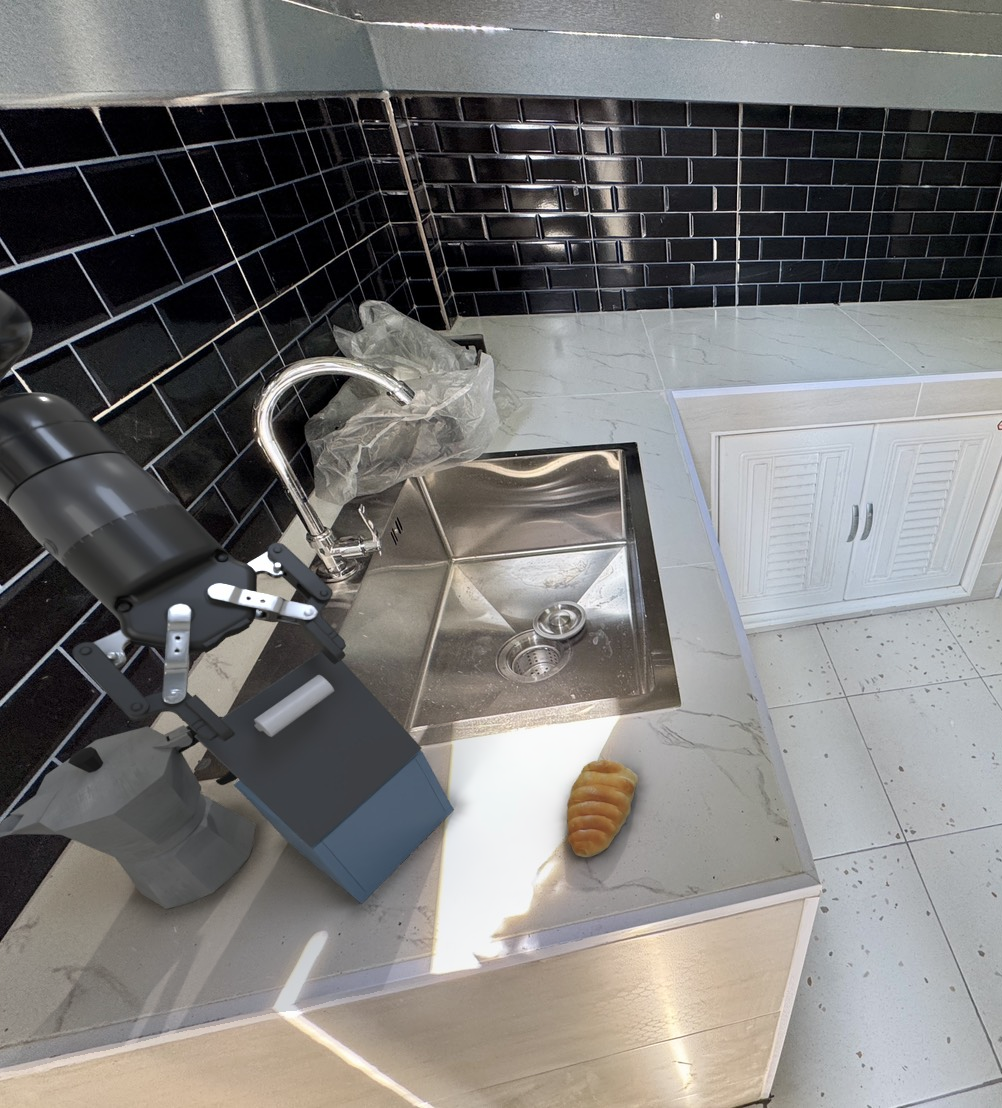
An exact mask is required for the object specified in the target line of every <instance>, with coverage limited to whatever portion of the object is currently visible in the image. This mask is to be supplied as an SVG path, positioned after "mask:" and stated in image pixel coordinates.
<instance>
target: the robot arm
mask: <svg viewBox="0 0 1002 1108" xmlns="http://www.w3.org/2000/svg"><path fill="white" fill-rule="evenodd" d="M33 330H34V329H33V324H32V321H31V318H30V316H29V315H28V313H27V312H26V310H25V309H24V308H23V306H22V305H21V304H20V303H19V302H18V301H16V299H14V298H13V297H12V296H11V295H10V294H8V293H7V292H6V291H4V290H3V289H2V288H0V383H1V382H2V381H3V380H4V378H5V377H6V376H7V374H8V373H9V371H11V370H12V368H13V367H14V366H15V364H16V363H17V362H18V360H19V359H20V358H21V356H22V355H23V354H24V353H25V351H26V350H27V349H28V347H29V345H30V343H31V340H32V338H33V332H34V331H33ZM0 500H1V501H2V502H4V504H6V506H7V507H8V508H10V509H11V511H12V512H13V513H14V514H15V515H16V516H17V518H18V519H19V520H20V521H21V523H22V524H23V526H24V527H25V528H26V530H27V531H28V532H29V533H30V535H31V536H32V537H33V538H34V539H35V540H36V541H37V542H38V543H39V544H40V545H41V546H42V547H43V548H44V549H45V550H46V552H47V553H48V554H50V555H52V556H53V557H54V558H55V559H56V560H57V561H58V562H59V563H60V564H61V565H62V566H63V568H65V569H66V570H67V571H68V572H69V573H70V574H71V575H72V576H73V577H74V578H76V580H78V582H79V583H80V584H81V585H83V587H85V588H86V589H87V590H88V591H89V592H90V593H91V594H92V596H94V597H95V598H96V599H97V600H98V601H99V602H100V603H101V604H102V605H103V606H104V607H105V608H106V609H108V611H109V612H111V613H112V615H114V617H115V618H116V619H117V620H118V622H119V624H120V629H119V630H116V631H115V632H112V633H110V634H107V635H106V636H104V637H102V638H100V639H98V640H95V641H93V642H91V641H84V642H80V643H78V644H76V645H75V646H74V647H73V648H72V650H71V653H72V656H73V657H74V659H75V660H76V661H77V663H78V664H79V665H80V666H81V667H82V669H84V670H85V671H86V672H87V674H88V675H89V676H90V677H91V678H92V679H93V680H94V681H95V682H96V683H97V685H99V687H100V688H101V689H102V690H103V692H105V693H106V694H107V695H108V697H110V699H111V700H112V701H113V702H114V703H115V704H116V705H117V706H118V708H119V709H121V710H122V712H123V713H124V714H125V715H126V716H127V717H128V718H129V720H132V721H143V720H145V719H147V718H148V717H151V716H155V715H159V714H161V713H166V712H168V713H169V712H170V713H173V714H175V715H177V716H178V717H179V719H181V720H182V721H183V722H184V724H186V726H189V727H191V728H192V729H193V730H194V731H195V732H196V733H197V734H198V735H199V736H200V737H201V738H202V739H205V740H208V741H212V740H213V739H215V738H216V737H219V738H220V739H221V740H222V741H223V742H225V741H227V740H228V739H230V738H231V737H232V736H234V734H235V733H234V731H233V730H232V729H231V728H230V727H229V726H228V725H227V724H226V723H225V722H224V721H223V720H221V719H220V718H219V717H220V716H219V715H218V714H216V713H215V711H214V710H212V709H211V708H210V707H209V706H208V705H207V704H206V703H205V702H204V701H203V700H202V699H201V698H200V697H199V696H198V695H197V694H194V695H191V694H190V693H189V692H188V687H189V671H190V658H191V655H197V654H202V653H205V654H207V653H209V652H211V651H212V650H214V649H216V648H217V647H218V646H220V645H221V644H222V643H223V642H224V641H225V640H226V639H227V638H230V637H233V636H237V635H239V634H241V633H243V632H244V631H246V630H247V629H249V628H250V627H251V625H252V624H253V622H254V621H255V620H258V621H263V622H268V623H281V624H287V625H292V626H297V627H302V630H301V633H303V635H304V636H305V637H306V638H307V639H308V640H309V641H310V642H311V643H312V644H313V645H314V646H315V647H316V648H317V649H318V650H319V652H320V651H321V652H322V653H323V654H324V655H325V656H326V657H327V658H328V659H329V660H330V661H331V662H332V663H333V664H336V663H338V662H339V661H340V660H342V661H343V660H344V658H345V657H346V653H345V652H344V651H343V650H345V648H346V647H347V645H346V641H345V639H344V638H343V637H342V636H341V635H340V634H339V633H338V632H337V631H336V630H335V629H334V628H333V627H332V625H330V623H328V622H327V620H326V619H325V618H324V617H323V616H322V611H323V610H324V608H326V607H327V605H328V604H329V602H330V600H331V599H332V597H333V595H334V594H333V590H332V588H331V587H330V586H329V585H327V583H326V582H325V581H323V580H322V579H321V578H320V577H319V576H318V575H317V574H316V573H315V572H314V571H313V570H312V569H311V568H309V567H308V566H307V564H305V562H303V561H302V560H301V559H300V558H299V557H298V556H296V554H294V552H292V550H291V549H289V548H288V547H287V546H286V545H285V544H283V543H281V542H273V543H271V544H270V545H269V546H268V548H267V551H265V552H264V553H262V554H261V555H259V556H257V557H256V558H254V559H252V560H250V561H249V562H248V563H246V562H243V561H240V560H238V559H236V558H235V557H233V556H232V555H231V554H230V553H229V552H228V551H227V550H226V549H225V548H224V547H223V546H222V545H221V544H220V543H219V542H218V541H217V540H216V539H215V538H214V537H213V536H212V535H211V534H210V533H209V532H208V531H207V530H206V528H205V527H204V526H203V525H202V524H201V523H200V522H199V521H198V520H197V519H196V518H195V517H194V516H193V515H192V514H191V513H190V512H189V511H188V510H187V509H186V508H185V507H184V506H183V505H182V504H181V502H180V499H179V498H178V497H177V496H176V495H175V494H174V493H173V492H172V491H170V490H168V489H167V488H166V487H164V485H163V484H161V482H160V481H158V479H157V478H155V476H153V475H152V474H151V473H150V472H148V471H147V470H146V469H145V468H143V467H142V466H140V464H138V463H137V462H136V461H134V460H133V459H132V457H130V456H129V455H128V454H127V453H126V451H124V450H123V448H121V446H119V444H117V442H115V440H114V439H112V437H111V436H110V435H109V434H108V433H106V431H105V430H104V429H103V428H102V427H101V426H100V425H99V424H98V423H97V422H96V421H95V420H94V419H93V417H91V416H90V415H89V414H88V413H87V412H86V411H84V410H83V409H82V408H81V407H80V406H78V405H77V404H75V403H74V402H73V401H71V400H69V399H67V398H65V397H63V396H60V395H57V394H53V393H48V392H41V391H40V392H39V391H37V392H20V393H14V394H9V395H4V394H3V392H2V391H1V390H0ZM258 575H267V576H269V578H272V579H280V578H283V580H285V581H286V582H288V584H290V586H292V587H293V589H294V590H296V591H297V592H298V593H299V594H300V595H301V596H302V597H304V599H306V602H305V603H302V602H298V601H292V600H288V599H285V598H284V597H281V596H277V595H274V594H269V593H268V594H267V593H263V592H258ZM129 644H132V645H136V646H141V647H147V648H153V649H159V650H164V662H163V679H162V681H163V682H162V690H161V691H157V692H153V693H151V694H147V695H143V694H142V693H141V692H140V691H139V690H138V688H137V687H136V686H135V685H134V684H133V683H132V682H131V681H130V679H128V678H127V676H125V674H124V673H123V672H122V671H121V670H120V669H119V668H121V667H122V666H124V665H125V664H126V662H127V656H126V653H125V649H126V647H127V646H128V645H129Z"/></svg>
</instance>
